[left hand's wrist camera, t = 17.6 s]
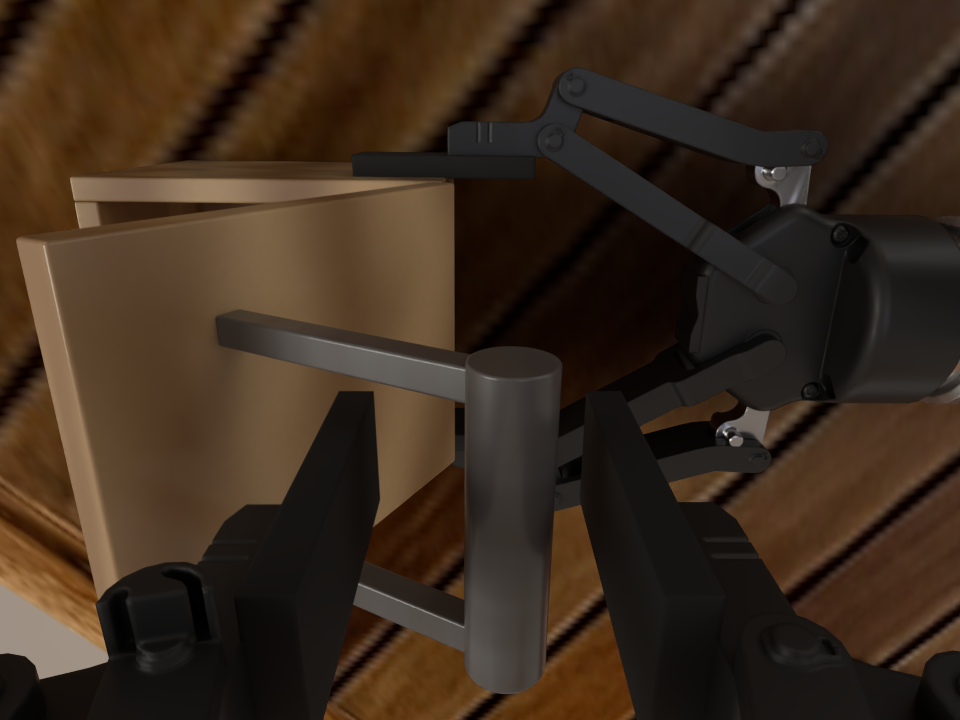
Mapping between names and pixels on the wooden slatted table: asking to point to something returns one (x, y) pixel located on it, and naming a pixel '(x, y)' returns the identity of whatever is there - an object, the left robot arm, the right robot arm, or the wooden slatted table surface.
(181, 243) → the lid
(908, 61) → the wooden slatted table surface
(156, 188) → the chest
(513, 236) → the wooden slatted table surface
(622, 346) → the wooden slatted table surface
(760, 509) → the wooden slatted table surface
